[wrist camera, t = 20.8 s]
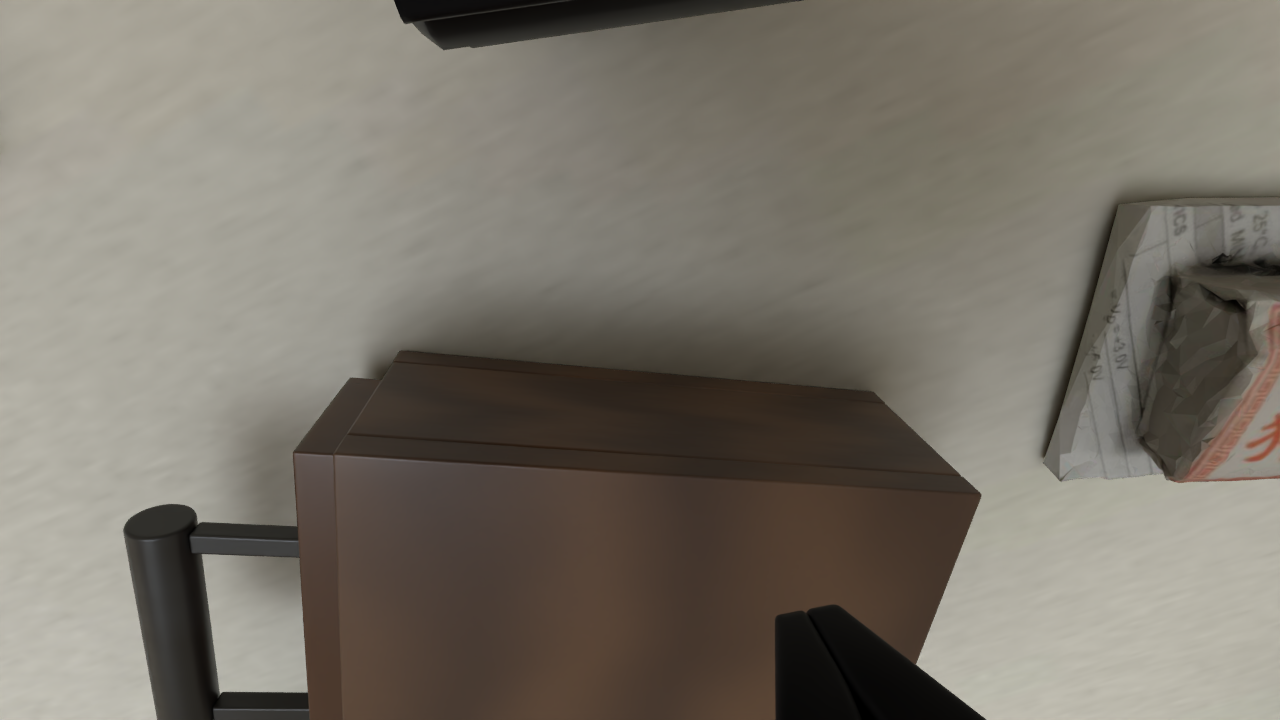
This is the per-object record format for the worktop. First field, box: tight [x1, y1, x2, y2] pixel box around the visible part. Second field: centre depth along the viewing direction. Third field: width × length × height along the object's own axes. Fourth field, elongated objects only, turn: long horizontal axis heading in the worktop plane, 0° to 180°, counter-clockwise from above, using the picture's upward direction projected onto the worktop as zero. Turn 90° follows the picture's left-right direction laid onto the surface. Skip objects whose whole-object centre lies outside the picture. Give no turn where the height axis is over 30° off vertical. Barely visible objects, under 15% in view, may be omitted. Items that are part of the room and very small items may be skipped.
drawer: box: [123, 378, 381, 720], centre depth 20 cm, size 19×13×4 cm, turn 82°
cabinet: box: [333, 351, 981, 720], centre depth 21 cm, size 16×14×6 cm
